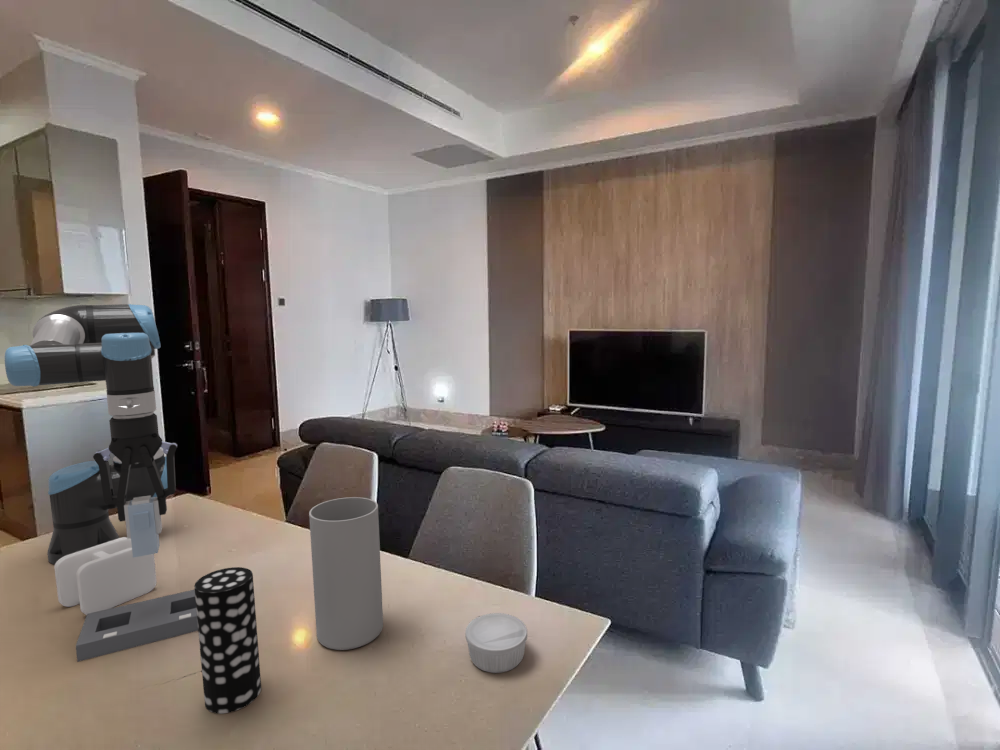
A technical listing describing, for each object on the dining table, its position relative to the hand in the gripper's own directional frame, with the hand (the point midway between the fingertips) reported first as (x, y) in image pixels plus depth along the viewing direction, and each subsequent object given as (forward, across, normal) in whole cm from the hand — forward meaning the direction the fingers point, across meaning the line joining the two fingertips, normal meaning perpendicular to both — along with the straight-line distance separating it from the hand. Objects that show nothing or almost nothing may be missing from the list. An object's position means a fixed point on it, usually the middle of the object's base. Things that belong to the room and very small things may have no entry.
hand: (145, 533), depth 106 cm
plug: (+4, 0, 0) cm, 4 cm away
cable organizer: (+20, -10, +18) cm, 29 cm away
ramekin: (+21, +56, -40) cm, 72 cm away
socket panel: (+20, 0, 0) cm, 20 cm away
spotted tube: (+20, +13, -28) cm, 37 cm away
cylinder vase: (+20, +34, -20) cm, 44 cm away
